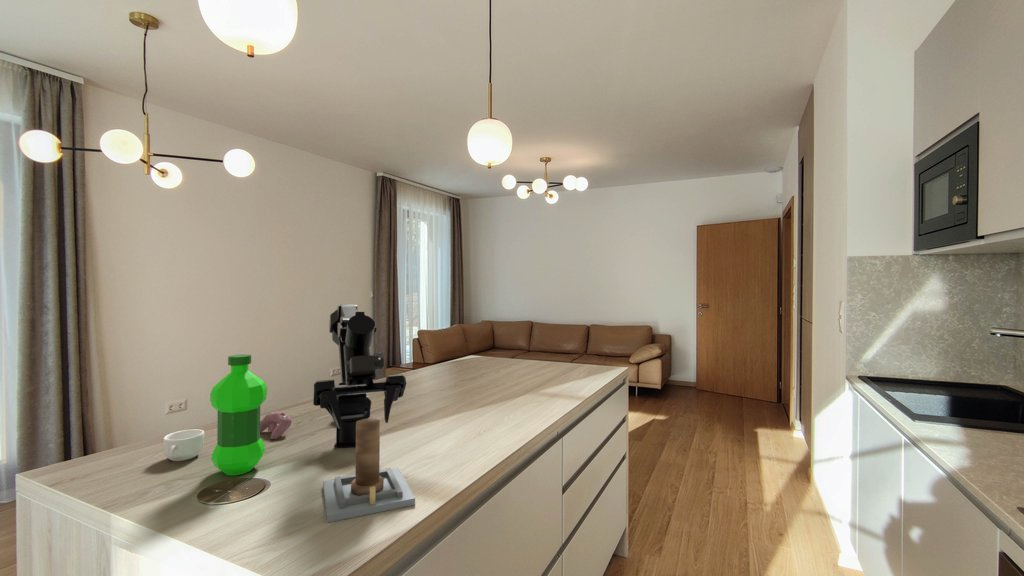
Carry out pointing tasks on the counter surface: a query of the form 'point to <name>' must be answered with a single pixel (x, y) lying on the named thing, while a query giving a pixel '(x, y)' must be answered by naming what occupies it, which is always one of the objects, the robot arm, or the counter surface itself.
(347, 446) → the robot arm
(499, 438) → the counter surface
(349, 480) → the base plate
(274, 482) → the counter surface
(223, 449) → the plastic bottle
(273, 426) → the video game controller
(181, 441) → the teacup
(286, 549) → the counter surface
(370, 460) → the flanged spindle
